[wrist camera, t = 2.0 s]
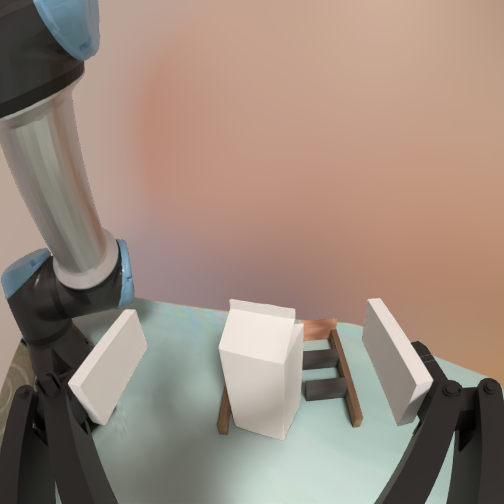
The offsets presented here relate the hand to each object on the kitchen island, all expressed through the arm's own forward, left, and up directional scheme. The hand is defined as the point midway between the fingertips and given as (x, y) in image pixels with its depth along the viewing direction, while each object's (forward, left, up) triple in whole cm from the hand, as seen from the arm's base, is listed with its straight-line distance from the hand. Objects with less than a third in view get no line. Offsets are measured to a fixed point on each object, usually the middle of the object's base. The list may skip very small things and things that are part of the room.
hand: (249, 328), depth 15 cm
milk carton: (0, +12, -25) cm, 27 cm away
